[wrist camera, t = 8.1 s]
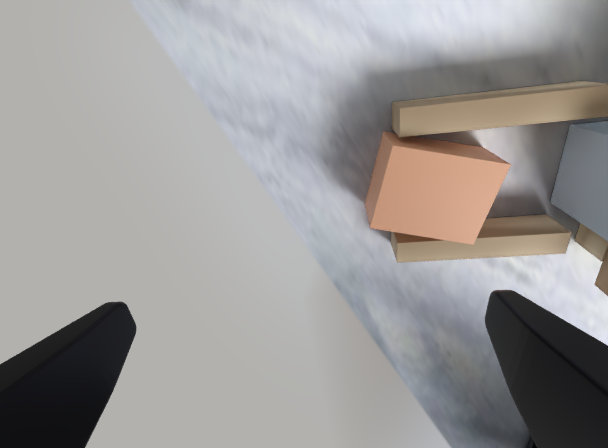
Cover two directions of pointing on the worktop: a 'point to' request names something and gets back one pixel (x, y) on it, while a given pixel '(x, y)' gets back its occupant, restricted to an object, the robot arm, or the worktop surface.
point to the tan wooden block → (603, 276)
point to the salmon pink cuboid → (433, 187)
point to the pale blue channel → (585, 176)
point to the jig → (492, 114)
